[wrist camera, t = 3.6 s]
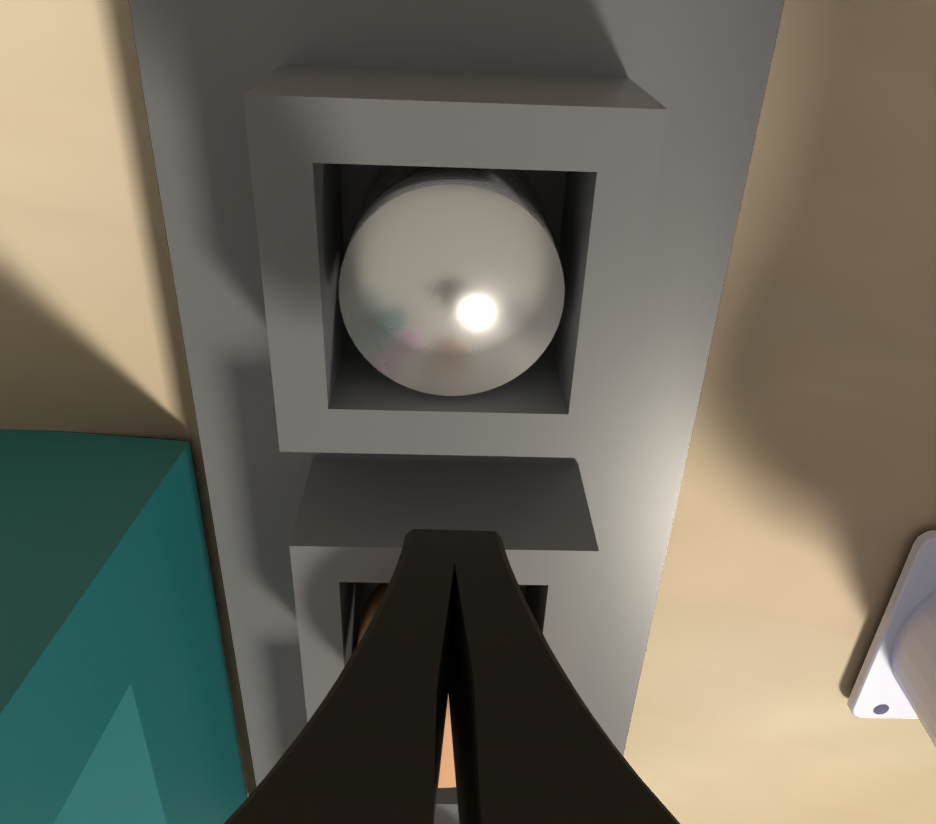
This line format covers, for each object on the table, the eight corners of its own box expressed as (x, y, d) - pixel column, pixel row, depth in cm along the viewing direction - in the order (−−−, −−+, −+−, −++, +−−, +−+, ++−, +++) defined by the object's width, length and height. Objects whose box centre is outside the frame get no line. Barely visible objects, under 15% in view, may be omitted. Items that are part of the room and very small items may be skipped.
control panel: (763, -80, 16) (890, -87, 11) (589, 821, 31) (613, 973, 27) (148, -107, 15) (19, -125, 11) (280, 820, 31) (250, 974, 26)
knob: (556, 147, 16) (576, 188, 13) (539, 331, 18) (553, 398, 15) (352, 140, 16) (332, 180, 13) (359, 326, 18) (343, 393, 15)
